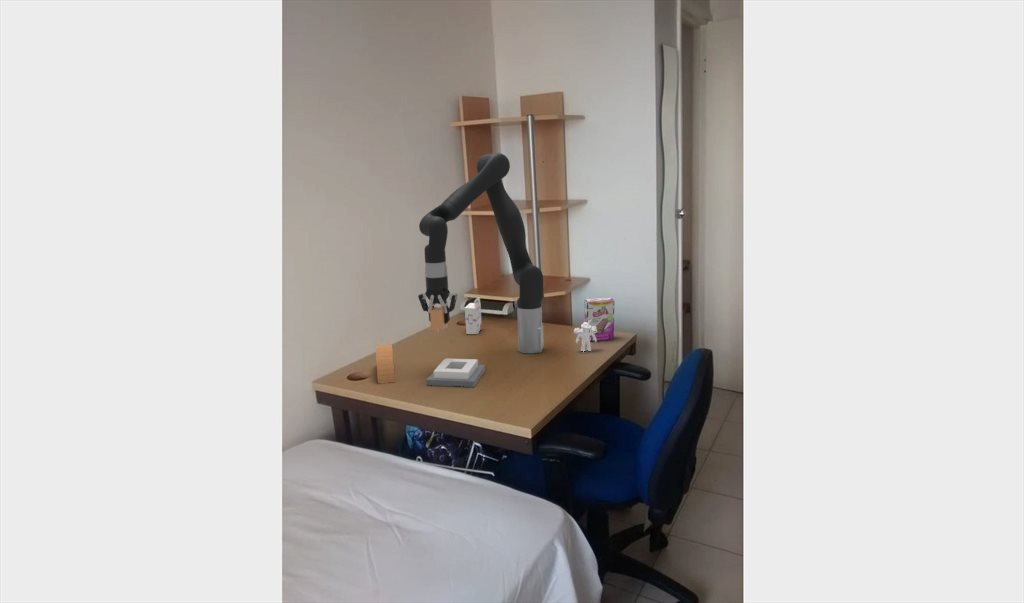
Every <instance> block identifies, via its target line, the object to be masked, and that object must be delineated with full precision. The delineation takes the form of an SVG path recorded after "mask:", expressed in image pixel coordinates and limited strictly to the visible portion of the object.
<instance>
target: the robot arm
mask: <svg viewBox="0 0 1024 603" xmlns="http://www.w3.org/2000/svg"><path fill="white" fill-rule="evenodd" d="M510 167H511V164H510V160H509V157H508V156H506V155H505V154H504V153H500V152H493V153H487V154H483V155H481V156H480V157H479V158H478V160H477V162H476V171H477V174H476V175H475V176H474V177H472V178H471V179H470V180H468V181H467V182H466V183H464V184H462V185H460V186H459V187H458V188H457V189H455V190H454V191H453V192H452V193H451V194H450V195H449V196H448V197H447V198H445V199H444V200H443V202H441V204H439V205H438V206H436V207H434V208H433V209H432V210H430V211H429V212H428V213H426V214H425V215H424V216H423V217H422V218H421V219H420V222H419V224H418V225H419V226H418V228H419V232H420V233H421V234H422V235H424V236H426V237H428V244H426V245H425V247H424V278H425V289H426V290H425V292H423V293H422V292H421V293H420V294H418V296H417V297H418V300H419V302H420V306H421V308H422V311H423V312H427V313H428V320H429V322H430V323H431V320H430V310H431V309H432V308H434V307H435V306H436V304H438V305H440V306H442V308H443V309H444V323H445V324H447V323H448V324H449V322H450V319H451V318H450V312H451V313H452V311H454V310H455V307H456V303H457V299H458V294H457V293H451V292H450V289H449V278H448V266H447V257H446V245H447V241H448V240H447V239H448V234H449V233H448V230H449V228H448V224H447V223H448V222H451V221H454V220H456V219H457V218H459V216H460V215H462V213H464V211H465V210H466V209H468V207H469V206H470V205H472V203H473V202H475V200H477V199H478V198H479V197H480V196H481V195H482V194H483V193H485V192H486V194H487V197H488V200H489V203H490V206H491V210H492V212H493V214H494V218H495V221H496V222H495V223H496V224H497V227H498V232H499V233H500V236H501V238H502V242H503V244H504V247H505V249H506V252H507V255H508V257H509V262H510V267H511V270H512V275H513V279H514V281H515V283H516V284H517V285H518V286H519V297H518V298H517V300H516V310H517V312H516V314H517V342H518V343H517V346H518V352H520V353H523V354H537V353H539V354H540V353H542V352H543V350H544V324H543V319H542V318H543V313H542V312H543V310H542V309H543V308H542V304H543V300H544V299H543V298H544V275H543V272H542V270H541V269H540V268H539V267H538V266H536V265H534V264H533V261H532V259H531V257H530V255H529V252H528V249H527V242H526V237H527V235H526V228H525V224H524V221H523V217H522V214H521V211H520V209H519V208H518V206H517V205H516V203H515V202H514V200H513V199H512V198H511V197H510V195H509V194H508V192H507V191H506V188H505V186H504V183H503V178H505V177H506V176H507V175H508V174H509V171H510ZM448 298H449V300H450V302H449V303H448ZM426 299H428V300H429V302H427V300H426Z"/></svg>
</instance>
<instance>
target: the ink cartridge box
mask: <svg viewBox="0 0 1024 603" xmlns="http://www.w3.org/2000/svg"><path fill="white" fill-rule="evenodd" d="M481 307H482V306H481V297H480V296H478V297H477V298H476V299H475V300H474V302H469V303H468V304H467V305H466V306H465V307H464V316H465V332H466V334H477V335H478V334H479V333H480V332H481V331H482V330H483V328H482V327H483V326H482V308H481ZM480 330H481V331H480ZM479 331H480V332H479Z"/></svg>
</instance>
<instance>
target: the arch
mask: <svg viewBox="0 0 1024 603" xmlns="http://www.w3.org/2000/svg"><path fill="white" fill-rule="evenodd" d="M375 359H376V360H375V361H376V373H377V375H376V376H377V377H376V378H377V384H378V383H382V382H394V383H396V380H395V379H396V377H395V365H394V364H395V362H394V350H393V344H383V345H376V346H375Z"/></svg>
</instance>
